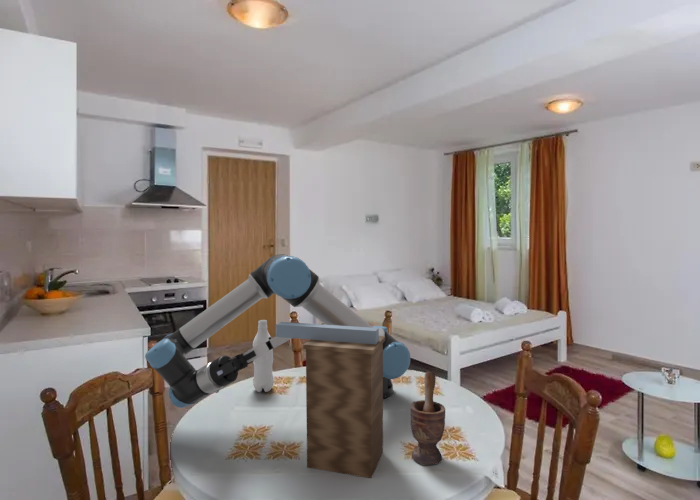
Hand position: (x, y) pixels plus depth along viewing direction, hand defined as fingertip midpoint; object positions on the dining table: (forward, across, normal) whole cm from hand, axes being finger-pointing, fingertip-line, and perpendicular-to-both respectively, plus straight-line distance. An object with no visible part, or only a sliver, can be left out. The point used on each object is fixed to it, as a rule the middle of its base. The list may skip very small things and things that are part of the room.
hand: (279, 339), depth 110 cm
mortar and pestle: (+17, -9, -44) cm, 47 cm away
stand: (+1, 0, -34) cm, 34 cm away
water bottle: (-36, -36, -13) cm, 53 cm away
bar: (+11, 0, -6) cm, 13 cm away
